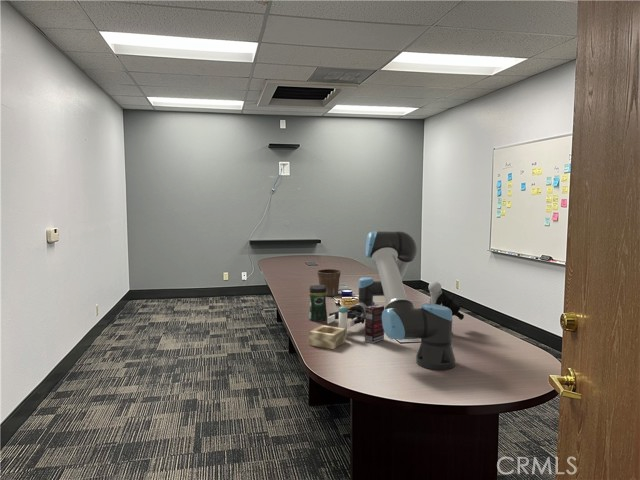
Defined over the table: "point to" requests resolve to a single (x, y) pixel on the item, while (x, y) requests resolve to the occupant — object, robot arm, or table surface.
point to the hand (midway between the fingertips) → (339, 322)
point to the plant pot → (329, 280)
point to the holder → (327, 336)
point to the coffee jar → (317, 302)
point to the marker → (343, 319)
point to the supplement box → (374, 323)
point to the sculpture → (443, 299)
